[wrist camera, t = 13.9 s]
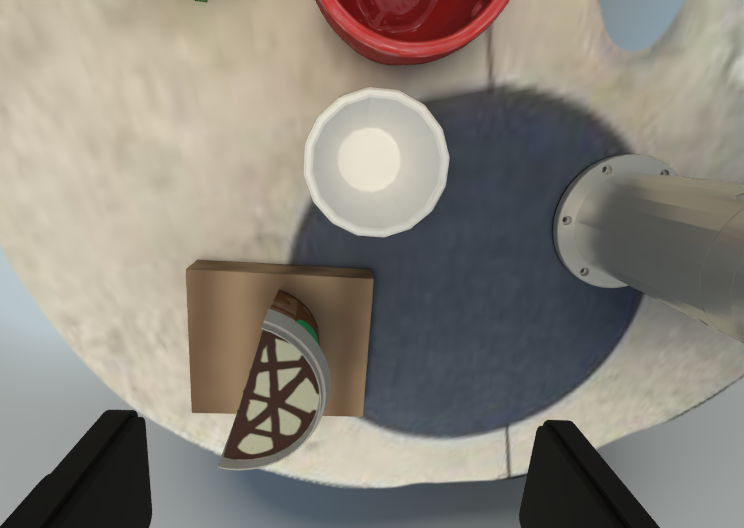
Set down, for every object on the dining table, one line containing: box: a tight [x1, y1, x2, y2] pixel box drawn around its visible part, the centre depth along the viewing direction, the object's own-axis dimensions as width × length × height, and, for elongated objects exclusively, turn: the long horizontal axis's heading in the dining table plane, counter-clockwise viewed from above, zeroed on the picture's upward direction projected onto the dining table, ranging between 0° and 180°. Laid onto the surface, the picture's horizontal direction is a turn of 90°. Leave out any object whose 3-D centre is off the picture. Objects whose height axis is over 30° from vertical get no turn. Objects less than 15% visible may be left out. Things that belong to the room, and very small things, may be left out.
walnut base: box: [186, 260, 374, 417], centre depth 40 cm, size 16×14×3 cm
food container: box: [217, 290, 331, 470], centre depth 34 cm, size 12×6×10 cm, turn 160°
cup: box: [304, 87, 450, 237], centre depth 33 cm, size 10×10×9 cm
